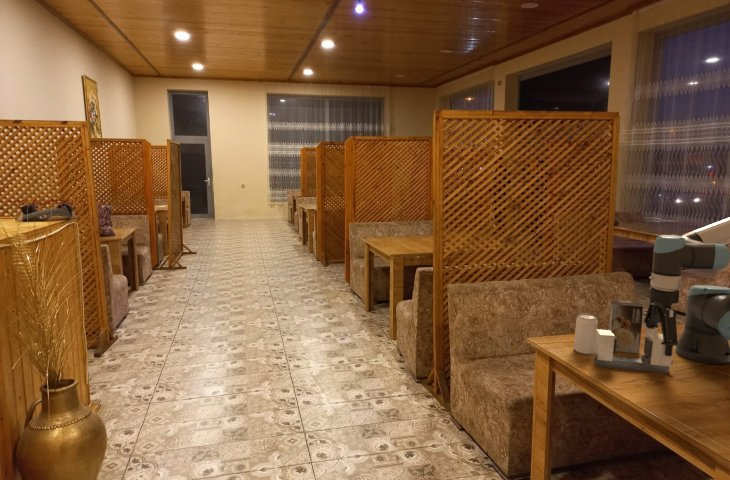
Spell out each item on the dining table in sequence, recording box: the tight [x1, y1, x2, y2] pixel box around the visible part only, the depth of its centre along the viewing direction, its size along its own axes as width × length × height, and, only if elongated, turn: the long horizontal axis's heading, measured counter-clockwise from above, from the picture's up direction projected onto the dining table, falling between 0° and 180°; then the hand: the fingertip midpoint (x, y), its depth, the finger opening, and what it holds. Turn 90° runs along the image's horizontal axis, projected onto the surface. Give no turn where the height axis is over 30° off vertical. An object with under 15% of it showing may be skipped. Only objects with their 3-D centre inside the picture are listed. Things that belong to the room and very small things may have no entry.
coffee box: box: [608, 299, 644, 354], centre depth 167 cm, size 9×6×16 cm
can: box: [573, 313, 599, 355], centre depth 165 cm, size 6×6×12 cm
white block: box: [643, 333, 664, 365], centre depth 151 cm, size 5×5×8 cm
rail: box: [593, 328, 674, 374], centre depth 153 cm, size 21×5×10 cm, turn 78°
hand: (657, 356), depth 151 cm, fingers open, 13 cm apart
